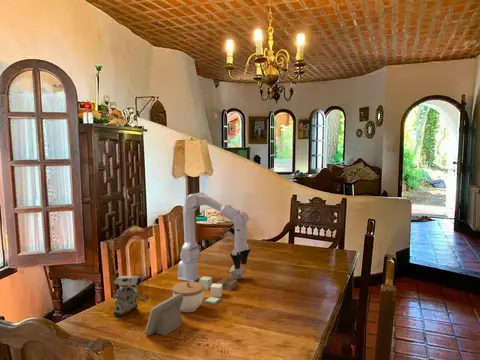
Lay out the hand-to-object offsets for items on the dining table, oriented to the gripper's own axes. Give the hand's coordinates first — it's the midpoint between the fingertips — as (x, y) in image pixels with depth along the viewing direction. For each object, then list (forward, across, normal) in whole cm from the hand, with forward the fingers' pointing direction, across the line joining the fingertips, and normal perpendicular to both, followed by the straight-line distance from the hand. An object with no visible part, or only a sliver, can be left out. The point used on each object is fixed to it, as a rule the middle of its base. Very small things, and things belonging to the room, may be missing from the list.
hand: (240, 266), depth 166 cm
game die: (+10, +9, +6) cm, 15 cm away
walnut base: (+10, -2, +6) cm, 12 cm away
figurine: (+10, -43, +29) cm, 53 cm away
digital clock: (+10, -47, +9) cm, 49 cm away
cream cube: (+10, -13, +6) cm, 18 cm away
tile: (+10, -20, +4) cm, 22 cm away
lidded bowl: (+10, -30, +10) cm, 33 cm away
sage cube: (+10, -7, +15) cm, 19 cm away
